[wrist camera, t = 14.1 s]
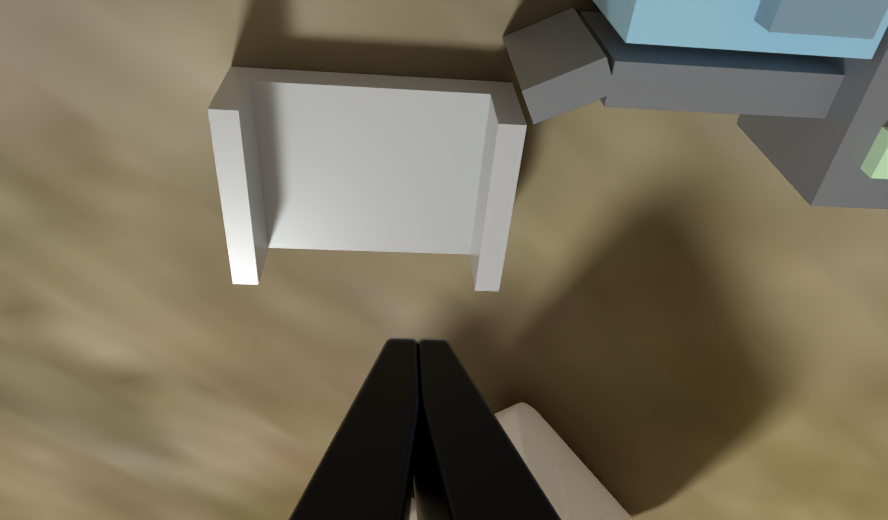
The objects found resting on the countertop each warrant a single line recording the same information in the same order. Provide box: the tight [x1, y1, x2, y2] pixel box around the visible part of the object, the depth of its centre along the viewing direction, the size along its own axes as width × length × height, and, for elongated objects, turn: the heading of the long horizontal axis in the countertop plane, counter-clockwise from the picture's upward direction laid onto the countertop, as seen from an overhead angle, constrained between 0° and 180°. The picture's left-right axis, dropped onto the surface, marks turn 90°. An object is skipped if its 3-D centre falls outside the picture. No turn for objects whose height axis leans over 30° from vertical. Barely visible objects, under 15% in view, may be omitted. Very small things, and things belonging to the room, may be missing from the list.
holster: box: [208, 67, 527, 291], centre depth 21 cm, size 9×6×3 cm
